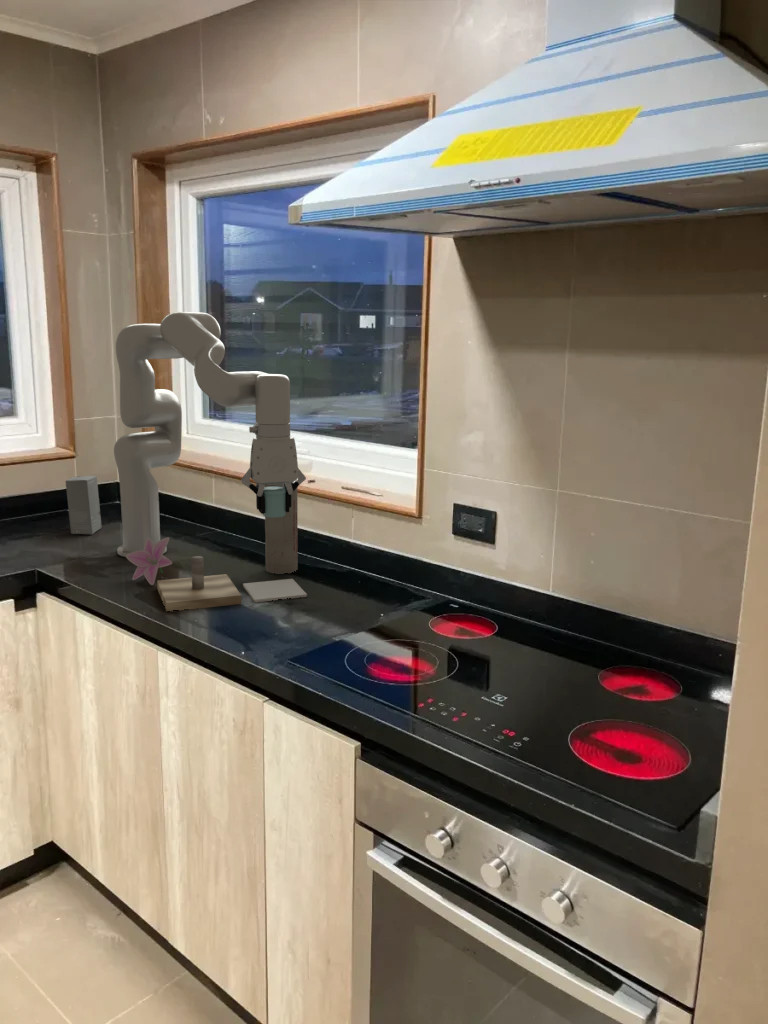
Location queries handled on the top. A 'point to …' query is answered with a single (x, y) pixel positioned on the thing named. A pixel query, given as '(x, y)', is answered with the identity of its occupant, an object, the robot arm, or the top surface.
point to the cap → (275, 501)
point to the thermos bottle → (282, 539)
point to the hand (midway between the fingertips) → (274, 510)
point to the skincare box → (83, 504)
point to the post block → (198, 590)
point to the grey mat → (274, 590)
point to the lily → (149, 559)
